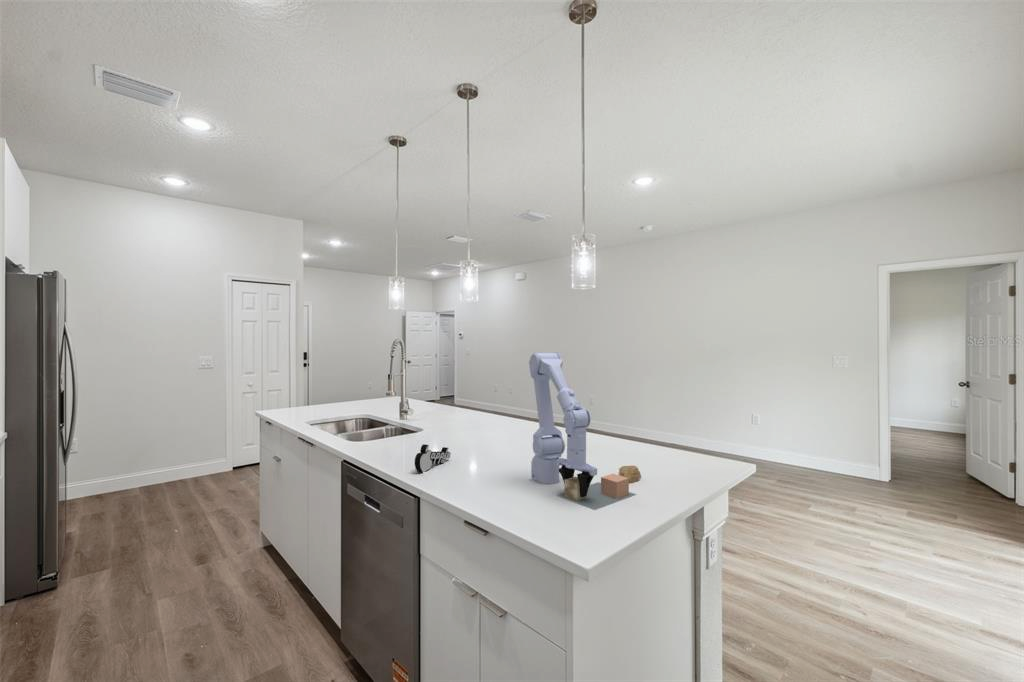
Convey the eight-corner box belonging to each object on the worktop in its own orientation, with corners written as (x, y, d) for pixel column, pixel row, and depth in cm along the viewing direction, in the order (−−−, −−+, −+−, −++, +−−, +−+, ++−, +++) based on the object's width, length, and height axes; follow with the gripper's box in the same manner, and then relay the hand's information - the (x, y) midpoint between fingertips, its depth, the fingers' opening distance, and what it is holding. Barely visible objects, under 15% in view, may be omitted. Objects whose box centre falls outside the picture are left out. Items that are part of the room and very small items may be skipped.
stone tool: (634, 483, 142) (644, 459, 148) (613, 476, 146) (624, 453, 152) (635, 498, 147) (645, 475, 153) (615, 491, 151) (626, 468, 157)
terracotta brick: (600, 493, 134) (600, 477, 134) (612, 489, 138) (612, 473, 138) (616, 498, 130) (616, 482, 130) (628, 494, 134) (628, 478, 134)
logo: (418, 473, 154) (421, 444, 156) (413, 472, 155) (416, 444, 157) (448, 470, 173) (451, 444, 175) (444, 469, 174) (447, 444, 176)
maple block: (564, 495, 132) (564, 479, 132) (575, 492, 135) (575, 476, 135) (576, 500, 128) (576, 483, 128) (587, 496, 131) (588, 480, 131)
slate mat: (556, 497, 132) (556, 495, 132) (598, 484, 145) (598, 482, 145) (594, 512, 121) (594, 510, 121) (636, 497, 134) (636, 494, 134)
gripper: (550, 446, 135) (549, 490, 135) (586, 455, 123) (585, 503, 123) (565, 443, 139) (565, 485, 139) (601, 452, 128) (601, 498, 128)
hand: (576, 493), depth 132 cm, fingers open, 5 cm apart
